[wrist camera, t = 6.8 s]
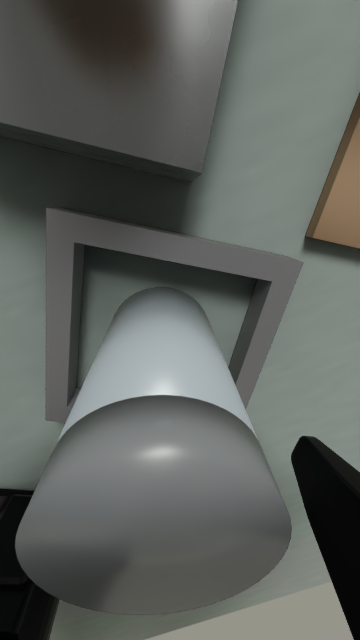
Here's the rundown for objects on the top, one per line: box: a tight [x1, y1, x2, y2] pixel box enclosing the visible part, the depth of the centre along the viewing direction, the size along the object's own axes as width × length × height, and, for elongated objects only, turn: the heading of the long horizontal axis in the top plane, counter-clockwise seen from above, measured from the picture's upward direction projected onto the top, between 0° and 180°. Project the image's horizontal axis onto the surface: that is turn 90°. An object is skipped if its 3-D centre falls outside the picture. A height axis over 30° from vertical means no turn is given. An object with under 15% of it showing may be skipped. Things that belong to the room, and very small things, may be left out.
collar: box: [46, 208, 303, 422], centre depth 12 cm, size 10×10×2 cm
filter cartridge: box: [15, 287, 292, 615], centre depth 9 cm, size 5×5×9 cm
